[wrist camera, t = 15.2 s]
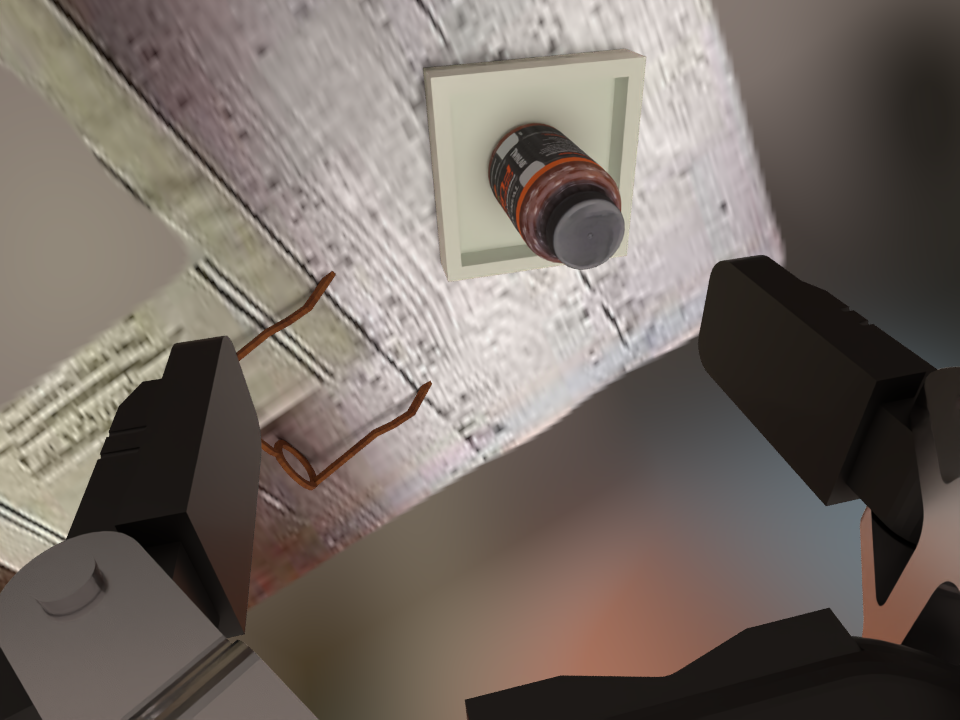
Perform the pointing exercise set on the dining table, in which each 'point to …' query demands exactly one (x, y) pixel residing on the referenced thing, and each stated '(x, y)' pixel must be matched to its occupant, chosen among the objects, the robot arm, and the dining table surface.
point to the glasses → (283, 444)
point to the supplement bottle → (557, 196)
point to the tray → (505, 106)
